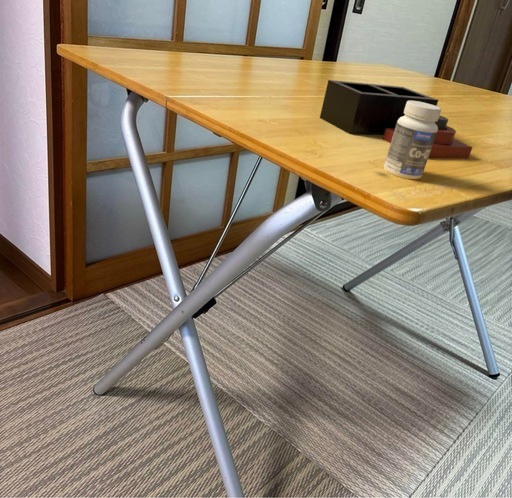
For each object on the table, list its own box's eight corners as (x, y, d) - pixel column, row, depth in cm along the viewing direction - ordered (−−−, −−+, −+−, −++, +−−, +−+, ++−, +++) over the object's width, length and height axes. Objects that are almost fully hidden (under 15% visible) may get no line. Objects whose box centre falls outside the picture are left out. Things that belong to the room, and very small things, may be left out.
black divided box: (392, 121, 90) (403, 86, 87) (426, 137, 83) (438, 100, 81) (319, 118, 82) (328, 79, 80) (349, 134, 76) (360, 93, 73)
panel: (430, 140, 82) (437, 118, 80) (468, 158, 76) (477, 135, 74) (382, 139, 77) (389, 116, 75) (418, 157, 71) (427, 133, 69)
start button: (432, 125, 77) (435, 113, 76) (449, 132, 74) (453, 120, 73) (414, 124, 75) (418, 112, 75) (431, 131, 73) (435, 119, 72)
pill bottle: (405, 181, 60) (428, 110, 56) (375, 167, 63) (395, 98, 59) (429, 178, 63) (453, 110, 59) (399, 165, 66) (420, 99, 62)
